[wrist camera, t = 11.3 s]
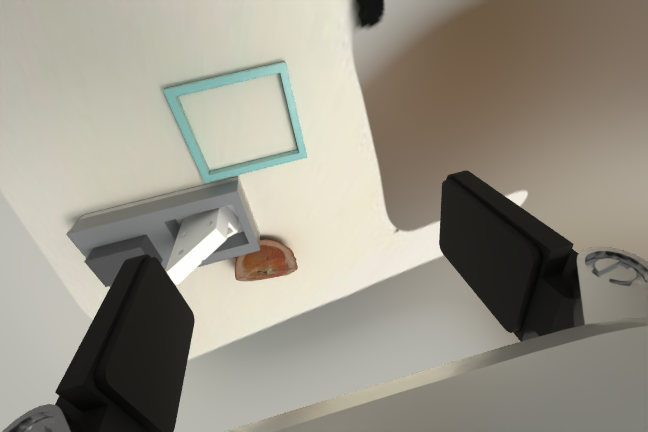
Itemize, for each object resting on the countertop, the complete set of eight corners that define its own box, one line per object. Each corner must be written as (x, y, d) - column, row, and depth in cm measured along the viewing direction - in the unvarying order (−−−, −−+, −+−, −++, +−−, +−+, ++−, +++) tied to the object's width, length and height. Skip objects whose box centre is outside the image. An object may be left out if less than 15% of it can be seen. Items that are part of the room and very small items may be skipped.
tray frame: (165, 88, 31) (162, 90, 30) (284, 61, 32) (285, 62, 31) (205, 178, 37) (204, 183, 36) (305, 153, 38) (307, 157, 37)
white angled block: (148, 248, 37) (163, 274, 30) (213, 194, 40) (239, 207, 34) (170, 266, 39) (189, 295, 32) (230, 213, 42) (258, 229, 36)
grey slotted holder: (82, 215, 37) (54, 247, 31) (238, 176, 38) (236, 201, 33) (123, 268, 42) (104, 304, 37) (259, 232, 43) (260, 262, 38)
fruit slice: (292, 230, 44) (296, 251, 40) (295, 265, 48) (299, 288, 44) (232, 237, 43) (230, 261, 39) (240, 273, 46) (239, 298, 42)
